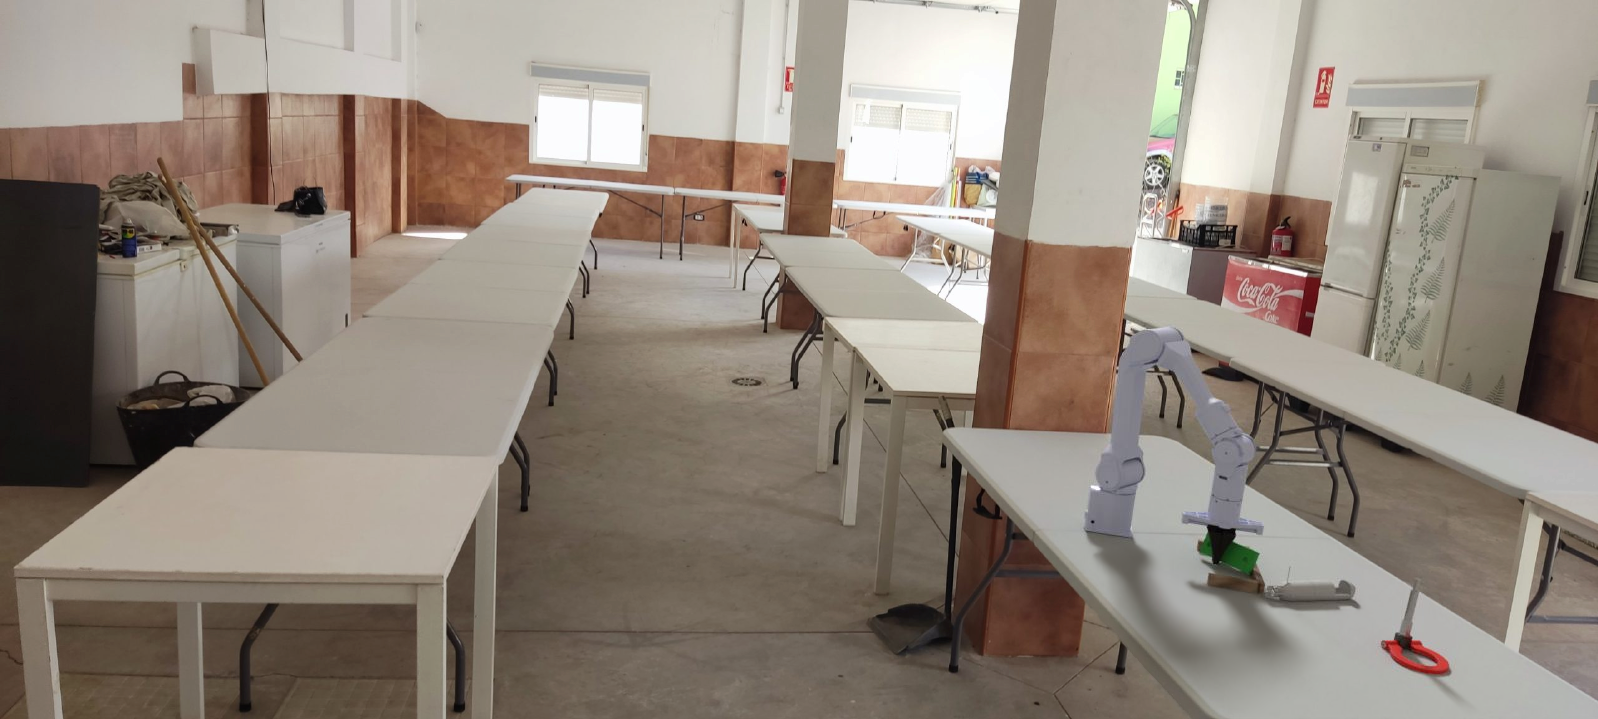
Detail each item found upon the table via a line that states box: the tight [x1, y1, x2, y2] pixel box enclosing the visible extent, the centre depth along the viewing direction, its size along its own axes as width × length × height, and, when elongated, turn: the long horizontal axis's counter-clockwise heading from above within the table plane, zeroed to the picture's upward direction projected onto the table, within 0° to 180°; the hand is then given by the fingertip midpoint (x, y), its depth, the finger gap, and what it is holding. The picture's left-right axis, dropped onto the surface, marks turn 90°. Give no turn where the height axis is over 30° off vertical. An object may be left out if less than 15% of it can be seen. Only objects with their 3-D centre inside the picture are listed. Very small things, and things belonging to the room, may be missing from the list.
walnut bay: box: [1196, 538, 1266, 595], centre depth 205 cm, size 10×19×2 cm, turn 166°
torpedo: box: [1264, 565, 1357, 602], centre depth 194 cm, size 18×5×6 cm, turn 102°
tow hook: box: [1380, 577, 1450, 675], centre depth 172 cm, size 8×13×9 cm
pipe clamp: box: [1199, 531, 1261, 575], centre depth 206 cm, size 11×4×5 cm, turn 30°
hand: (1215, 562), depth 206 cm, fingers closed
